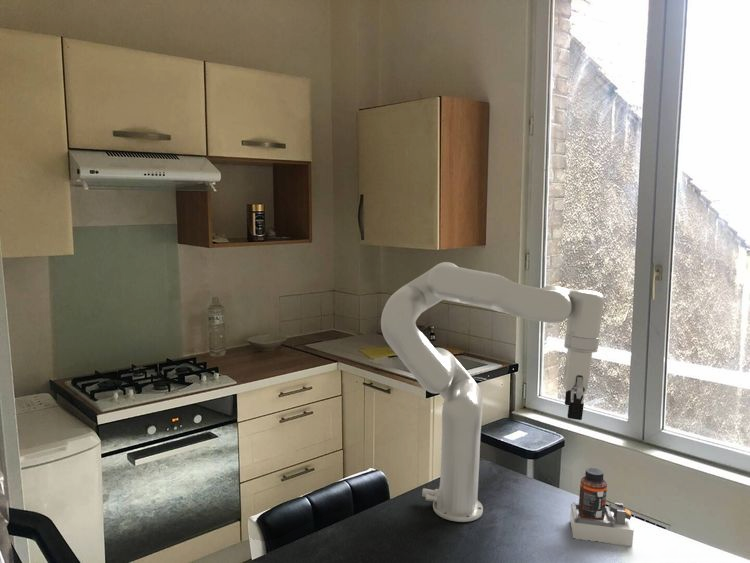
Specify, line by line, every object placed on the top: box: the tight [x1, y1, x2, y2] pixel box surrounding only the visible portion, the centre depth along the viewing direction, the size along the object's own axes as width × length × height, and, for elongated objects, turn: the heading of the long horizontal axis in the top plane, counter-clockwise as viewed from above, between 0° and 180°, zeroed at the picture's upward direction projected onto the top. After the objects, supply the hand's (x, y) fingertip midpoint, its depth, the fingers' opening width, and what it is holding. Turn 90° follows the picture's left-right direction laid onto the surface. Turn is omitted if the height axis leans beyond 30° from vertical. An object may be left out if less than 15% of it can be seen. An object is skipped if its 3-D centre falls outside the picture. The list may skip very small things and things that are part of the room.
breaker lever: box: [607, 502, 632, 521], centre depth 145 cm, size 5×2×1 cm, turn 78°
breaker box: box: [569, 502, 635, 547], centre depth 146 cm, size 13×8×7 cm, turn 78°
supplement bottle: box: [578, 467, 608, 520], centre depth 146 cm, size 6×6×11 cm
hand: (572, 411), depth 147 cm, fingers open, 9 cm apart
